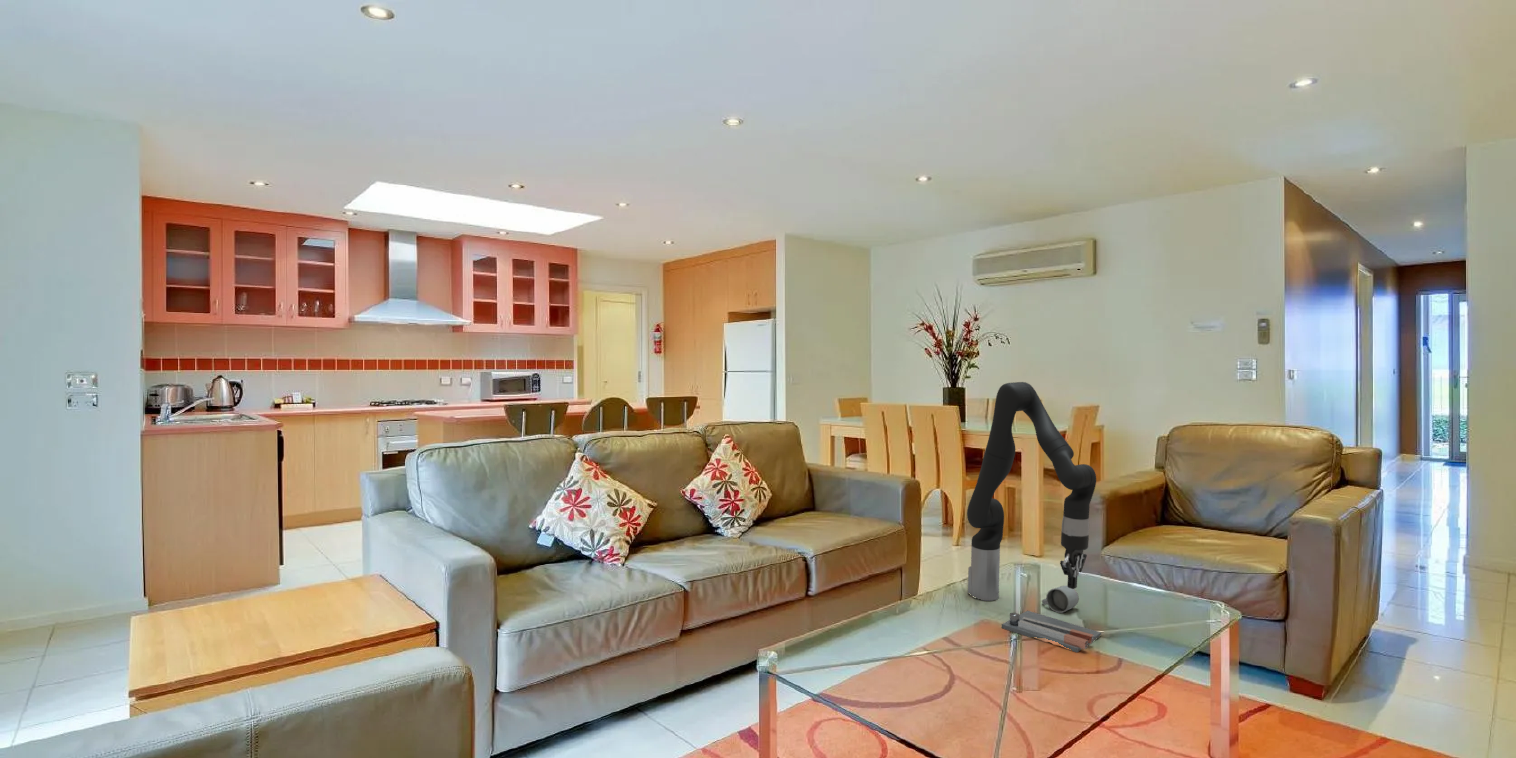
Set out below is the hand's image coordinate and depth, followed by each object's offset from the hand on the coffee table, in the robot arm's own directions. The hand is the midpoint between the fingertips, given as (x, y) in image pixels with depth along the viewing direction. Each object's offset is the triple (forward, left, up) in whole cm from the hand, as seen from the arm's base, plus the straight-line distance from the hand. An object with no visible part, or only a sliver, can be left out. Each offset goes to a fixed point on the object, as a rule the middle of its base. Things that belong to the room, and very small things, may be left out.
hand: (1071, 587), depth 221 cm
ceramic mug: (-11, +15, -14) cm, 23 cm away
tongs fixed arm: (-2, -10, -12) cm, 16 cm away
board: (-4, -5, -13) cm, 15 cm away
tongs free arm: (-1, -8, -12) cm, 14 cm away
